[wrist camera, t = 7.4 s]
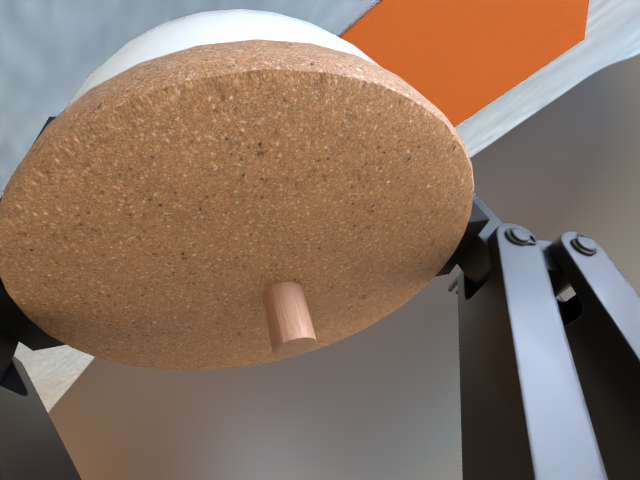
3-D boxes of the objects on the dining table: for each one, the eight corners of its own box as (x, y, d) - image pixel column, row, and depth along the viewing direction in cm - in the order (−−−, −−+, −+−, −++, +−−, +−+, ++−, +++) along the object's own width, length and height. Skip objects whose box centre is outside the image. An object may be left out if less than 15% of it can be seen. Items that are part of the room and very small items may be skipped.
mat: (396, 163, 34) (398, 165, 34) (328, 45, 23) (330, 47, 23) (581, 37, 28) (584, 39, 28) (607, -199, 17) (612, -200, 17)
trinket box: (281, 243, 18) (323, 408, 13) (58, 178, 12) (-68, 462, 6) (413, 94, 13) (585, 257, 8) (150, -171, 7) (-97, -507, 1)
